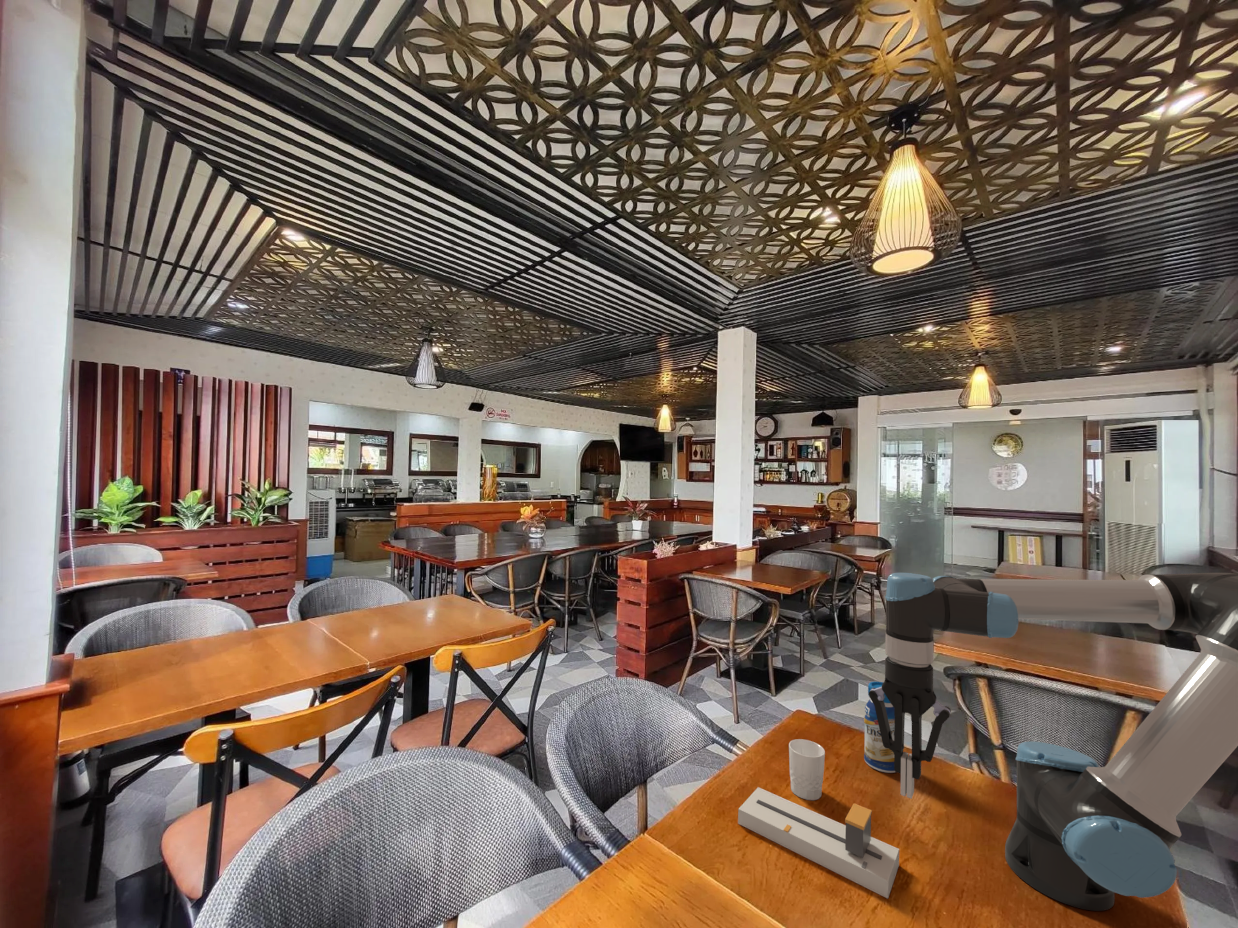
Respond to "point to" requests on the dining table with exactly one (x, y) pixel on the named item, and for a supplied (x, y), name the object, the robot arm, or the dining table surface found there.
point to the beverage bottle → (878, 735)
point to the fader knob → (858, 830)
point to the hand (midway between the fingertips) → (907, 792)
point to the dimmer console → (819, 840)
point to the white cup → (806, 768)
